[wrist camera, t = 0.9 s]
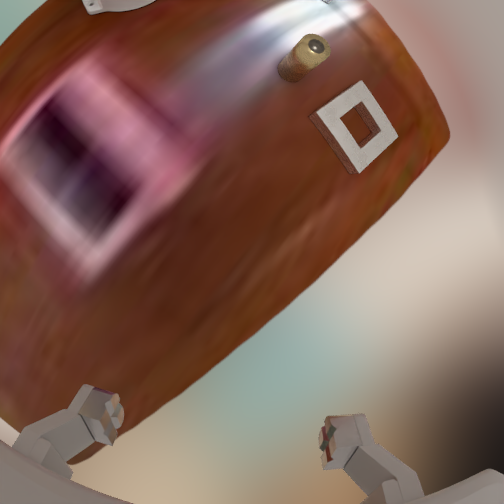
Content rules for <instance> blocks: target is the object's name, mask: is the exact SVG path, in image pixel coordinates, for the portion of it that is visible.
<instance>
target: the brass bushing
mask: <svg viewBox="0 0 504 504" xmlns="http://www.w3.org/2000/svg"><path fill="white" fill-rule="evenodd" d="M330 53H331V49H330V46H329V44H328V42H327V41H326V40H325V39H324V38H322V37H321V36H319V35H316V34H307V35H305V36H304V37H303V38H302V39H301V40H300V41H299V42H298V43H297V44H296V45H295V47H294V48H293V49H292V50H291V51H290V52H289V53H288V54H287V56H286V57H285V58H284V59H283V60H282V61H281V62H280V64H279V65H278V73H279V75H280V76H281V77H282V78H283V79H284V80H286V81H288V82H297V81H299V80H300V79H302V78H303V77H304V76H305V75H306V74H308V73H309V72H310V71H311V70H313V69H314V68H315V67H316V66H318V65H319V64H320V63H321V62H323V61H324V60H325V59H326V58H328V57H329V55H330Z"/></svg>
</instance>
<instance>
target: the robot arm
mask: <svg viewBox="0 0 504 504" xmlns="http://www.w3.org/2000/svg"><path fill="white" fill-rule="evenodd" d="M154 1H155V0H82V2H83V4H84V6H85V8H86V10H87V12H88V14H90V15H92V14H97V13H101V12H105V11H128V10H133V9H137V8H140V7H143V6H145V5H148V4H150V3H152V2H154ZM91 5H92V6H91ZM119 400H120V398H119V396H118V394H116V393H112V392H109V391H106V390H103V389H99V388H96V387H93V386H90V385H87V384H84V385H83V386H82V387H81V388H80V390H79V392H78V393H77V395H76V396H75V398H74V399H73V401H72V403H71V404H70V406H69V407H68V409H67V410H66V409H63V410H61V411H59V412H57V413H55V414H52V415H50V416H48V417H46V418H44V419H42V420H40V421H37V422H35V423H33V424H31V425H29V426H26V427H24V429H23V430H22V432H21V434H20V435H19V437H18V438H17V440H16V441H15V443H14V445H13V446H12V447H10V446H9V445H7V444H6V443H4V442H3V441H1V440H0V504H133V503H130V502H127V501H123V500H120V499H117V498H114V497H111V496H109V495H106V494H103V493H100V492H98V491H95V490H92V489H90V488H87V487H85V486H83V485H80V484H78V483H76V482H74V481H71V480H70V479H71V476H72V474H73V471H72V469H71V468H70V467H69V466H68V464H67V463H66V461H68V460H69V459H71V458H72V457H73V456H75V455H76V454H78V453H79V452H81V451H82V450H83V449H85V448H86V447H88V446H89V445H90V444H92V443H93V442H95V441H98V442H101V443H104V444H107V445H111V446H113V443H114V441H115V439H116V436H117V432H116V429H117V428H119V427H121V425H122V422H123V418H124V410H123V407H122V406H121V405H120V404H119V403H118V402H119ZM324 422H325V426H324V427H322V428H321V430H320V433H319V447H320V449H321V450H322V451H323V454H322V456H321V459H322V466H323V470H328V469H342V468H344V469H343V470H344V471H345V472H346V473H347V474H348V475H349V476H350V477H351V479H352V480H353V481H354V482H355V483H356V484H357V485H358V486H359V487H360V488H361V489H362V490H363V491H364V492H365V493H366V494H367V495H368V497H367V498H366V499H365V500H364V501H363V502H361V503H360V504H504V475H503V474H501V473H499V472H497V471H495V470H492V469H487V470H484V471H482V472H480V473H478V474H476V475H474V476H472V477H470V478H468V479H466V480H464V481H461V482H459V483H457V484H455V485H453V486H450V487H448V488H445V489H443V490H441V491H438V492H435V493H433V494H430V495H427V496H424V494H423V491H422V487H421V484H420V482H419V479H418V476H417V473H416V472H415V471H413V470H412V469H411V468H409V467H408V466H407V465H405V464H404V463H403V462H401V461H400V460H399V459H397V458H396V457H395V456H394V455H392V454H391V453H390V452H388V451H387V450H386V449H384V448H383V447H382V446H381V445H379V444H375V442H374V439H373V436H372V433H371V431H370V427H369V424H368V422H367V418H366V416H365V414H352V415H351V414H348V415H335V416H327V417H326V419H325V421H324ZM94 440H95V441H94Z"/></svg>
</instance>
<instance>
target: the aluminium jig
mask: <svg viewBox="0 0 504 504" xmlns="http://www.w3.org/2000/svg"><path fill="white" fill-rule="evenodd" d="M353 107H354V108H355V109H356V110H357V112H358V113H359V115H360V116H361V118H362V119H363V121H364V122H365V124H366V125H367V127H368V128H369V130H370V131H371V134H370V135H369V136H367V137H366V138H365V139H364V140H363V141H362V142H360V143H359V144H357V143H356V141H355V140H354V138H353V137H352V135H351V134H350V133H349V131H348V130H347V128H346V127H345V125H344V124H343V123H342V121H341V120H340V117H341V116H342V115H344V114H345V113H346V112H348V111H349V110H350V109H352V108H353ZM308 117H309V118H310V119H311V121H312V122H313V123H314V124H315V126H316V127H317V128H318V130H319V131H320V132H321V134H322V135H323V137H324V138H325V139H326V141H327V142H328V143H329V145H330V146H331V148H332V149H333V150H334V152H335V153H336V155H337V156H338V158H339V159H340V161H341V162H342V163H343V165H344V166H345V168H346V169H347V171H348V172H349V174H356V173H360V172H361V171H362V170H363V169H364V168H365V167H366V166H368V165H369V164H370V163H371V162H372V161H373V160H374V159H375V158H376V157H377V156H378V155H379V154H380V153H381V152H382V151H383V150H385V149H386V148H387V147H388V146H389V145H390V144H391V143H392V142H393V141H394V140H395V139H396V138H397V137H398V135H397V133H396V132H395V130H394V128H393V127H392V125H391V123H390V122H389V120H388V119H387V117H386V115H385V114H384V112H383V111H382V109H381V108H380V106H379V105H378V103H377V102H376V100H375V99H374V97H373V96H372V94H371V93H370V91H369V90H368V89H367V87H366V86H365V84H364V83H363V82H362V80H361V81H359V82H357V83H355V84H353V85H352V86H350V87H349V88H347V89H346V90H344V91H343V92H342V93H340V94H339V95H337V96H336V97H334V98H333V99H332V100H330V101H329V102H327V103H326V104H325V105H323V106H322V107H320V108H319V109H318V110H316V111H315V112H313V113H312V114H311V115H309V116H308Z"/></svg>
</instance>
